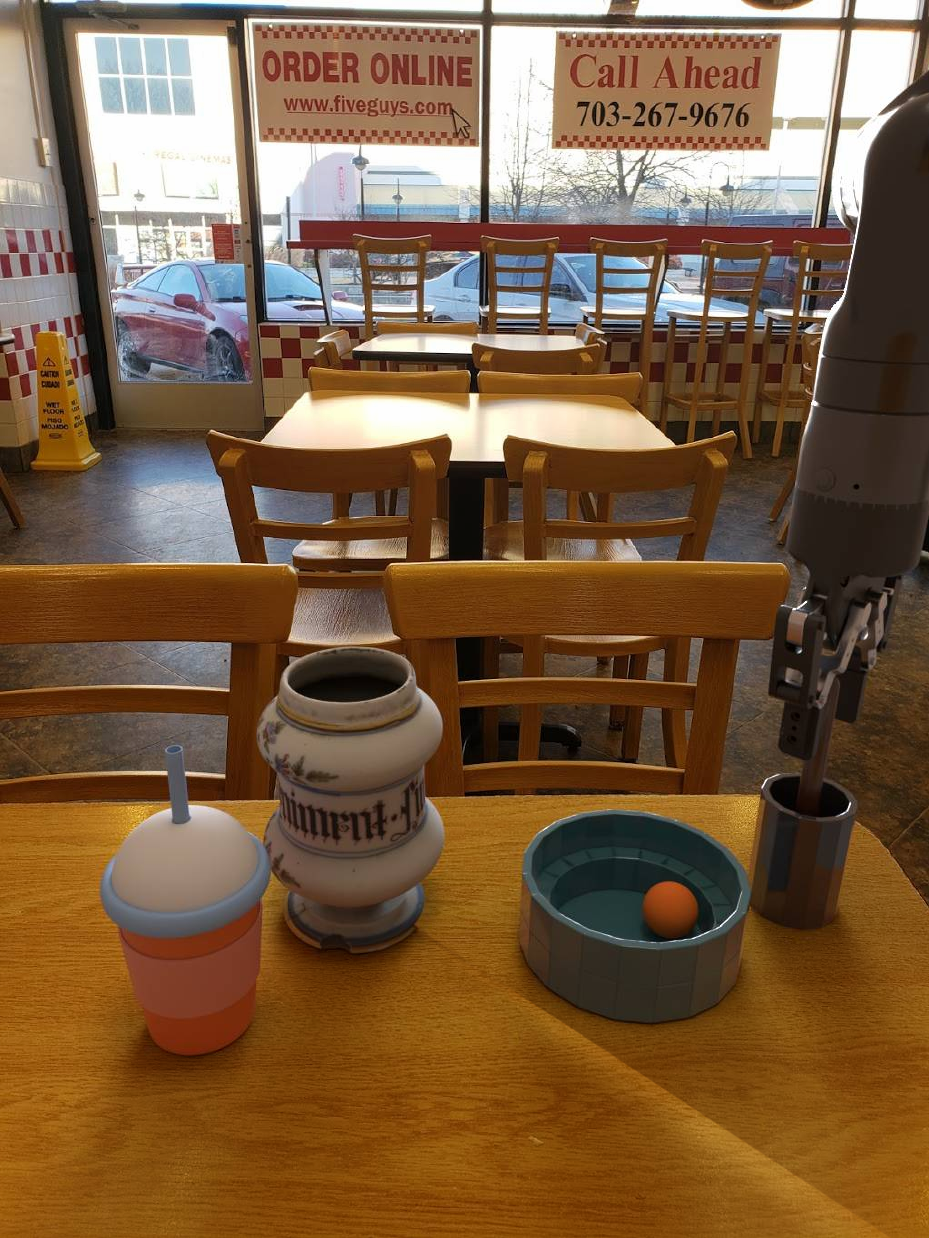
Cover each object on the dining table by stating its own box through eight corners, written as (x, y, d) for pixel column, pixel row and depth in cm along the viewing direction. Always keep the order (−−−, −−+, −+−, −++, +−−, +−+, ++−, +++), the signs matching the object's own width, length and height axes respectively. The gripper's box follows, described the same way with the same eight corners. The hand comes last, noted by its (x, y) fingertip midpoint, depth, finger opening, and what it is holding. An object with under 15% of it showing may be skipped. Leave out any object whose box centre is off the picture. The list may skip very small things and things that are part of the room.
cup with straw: (305, 978, 59) (291, 722, 52) (234, 1095, 51) (206, 809, 44) (176, 950, 61) (146, 700, 54) (88, 1057, 53) (41, 779, 46)
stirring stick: (779, 888, 67) (816, 666, 61) (811, 903, 66) (853, 677, 59) (770, 897, 66) (807, 672, 60) (803, 912, 65) (844, 683, 58)
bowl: (599, 855, 71) (605, 787, 69) (776, 944, 62) (789, 869, 60) (474, 949, 61) (476, 873, 59) (663, 1070, 53) (673, 986, 50)
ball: (658, 906, 65) (663, 863, 64) (705, 931, 63) (711, 886, 61) (629, 932, 62) (634, 887, 61) (677, 958, 60) (683, 912, 59)
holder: (768, 868, 70) (785, 763, 67) (849, 905, 66) (872, 795, 63) (729, 906, 66) (745, 796, 63) (814, 948, 62) (836, 832, 59)
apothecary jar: (247, 961, 60) (225, 709, 53) (291, 850, 71) (277, 630, 65) (435, 972, 59) (437, 719, 53) (450, 858, 71) (452, 637, 64)
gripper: (883, 518, 48) (830, 800, 54) (969, 475, 58) (917, 717, 64) (746, 492, 52) (712, 755, 59) (848, 457, 62) (810, 684, 68)
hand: (819, 734), depth 61 cm, fingers open, 6 cm apart
